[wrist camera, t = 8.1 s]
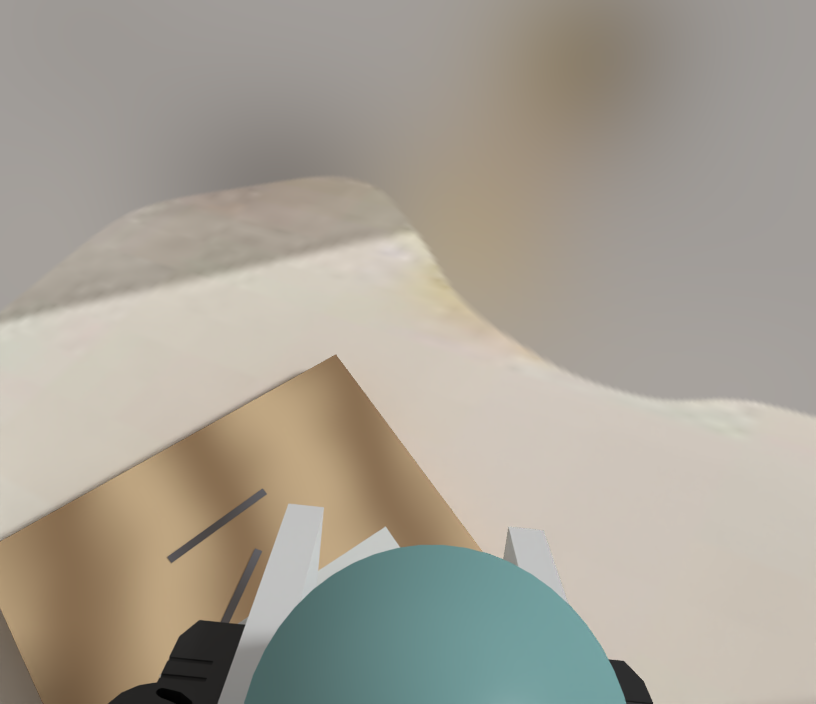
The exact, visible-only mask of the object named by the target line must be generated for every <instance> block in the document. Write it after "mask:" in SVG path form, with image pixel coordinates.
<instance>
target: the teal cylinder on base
mask: <svg viewBox="0 0 816 704" xmlns="http://www.w3.org/2000/svg"><path fill="white" fill-rule="evenodd" d="M247 619H248V617H247V618H246V619H244V620H243V621H241V622H240V623H238V624H244V625H246V622H247ZM159 676H160V677H161V674H160V675H159ZM244 704H626V701H625V697H624V694H623V692H622V689H621V687H620V684H619V682H618V679H617V677H616V674H615V671H614V669H613V667H612V666H611V664H610V662H609V660H608V658H607V656H606V654H605V652H604V650H603V648H602V647H601V645H600V644H599V642H598V641H597V639H596V638H595V636H594V635H593V633H592V632H591V630H590V629H589V628H588V626H587V625H586V623H585V622H584V621H583V620H582V619H581V618H580V617H579V615H578V614H577V613H576V612H575V611H574V610H573V608H572V607H571V606H570V605H569V604H568V603H567V602H566V601H565V600H563V599H562V598H561V597H560V596H559V595H558V594H557V593H556V592H555V591H554V590H553V589H552V588H550V587H549V586H547V585H546V584H545V583H543V582H542V581H540V580H539V579H538V578H536V577H535V576H534V575H532V574H531V573H529V572H527V571H525V570H523V569H521V568H520V567H518V566H516V565H514V564H512V563H511V562H508V561H506V560H503V559H501V558H498V557H496V556H493V555H491V554H488V553H484V552H480V551H476V550H473V549H469V548H464V547H456V546H448V545H415V546H408V547H399V545H398V544H397V542H396V541H395V539H394V538H393V536H392V535H391V534H390V532H389V531H388V529H387V528H386V527H384V528H383V529H381V530H380V531H378V532H377V533H375V534H373V535H372V536H370V537H369V538H367V539H366V540H364V541H363V542H361V543H360V544H358V545H357V546H355V547H354V548H352V549H351V550H349V551H348V552H346V553H345V554H343V555H342V556H340V557H338V558H337V559H335V560H334V561H332V562H331V563H329V564H328V565H326V566H325V567H323V568H322V569H320V570H319V571H318V578H317V587H316V588H314V589H313V590H312V591H311V592H310V593H309V594H308V595H307V596H306V597H305V598H304V599H303V600H302V601H301V602H300V603H299V604H298V605H297V606H296V607H295V608H294V609H293V610H292V611H291V613H290V614H289V615H288V616H287V618H286V619H285V620H284V621H283V623H282V624H281V625H280V626H279V628H278V629H277V631H276V632H275V634H274V636H273V637H272V639H271V641H270V642H269V644H268V645H267V647H266V649H265V650H264V652H263V655H262V657H261V659H260V661H259V663H258V665H257V668H256V670H255V672H254V674H253V677H252V680H251V683H250V686H249V689H248V692H247V695H246V698H245V701H244Z"/></svg>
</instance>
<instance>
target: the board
mask: <svg viewBox="0 0 816 704" xmlns="http://www.w3.org/2000/svg"><path fill="white" fill-rule="evenodd" d="M288 504H298V505H307V506H317V507H324V512H323V523H322V534H321V545H320V556H319V567H318V571H319V570H320V569H322V568H323V567H325V566H326V565H328V564H329V563H331V562H332V561H334V560H335V559H337V558H338V557H340V556H342V555H343V554H345V553H346V552H348V551H349V550H351V549H352V548H354V547H355V546H357V545H358V544H360V543H361V542H363V541H364V540H366V539H367V538H369V537H370V536H372V535H373V534H375V533H377V532H378V531H380V530H381V529H383V528H384V527H386V528H387V529H388V531H389V532H390V534H391V535H392V536H393V538H394V539H395V541H396V542H397V544H398V545H399V547H408V546H415V545H448V546H456V547H464V548H469V549H473V550H476V551H480V552H482V550H481V549H480V547H479V546H478V545H477V543H476V542H475V541H474V539H473V538H472V537H471V535H470V534H469V533H468V531H467V530H466V529H465V527H464V526H463V525H462V523H461V522H460V521H459V519H458V518H457V517H456V515H455V514H454V513H453V511H452V510H451V508H450V507H449V506H448V504H447V503H446V502H445V500H444V499H443V498H442V496H441V495H440V494H439V492H438V491H437V490H436V488H435V487H434V486H433V484H432V483H431V482H430V480H429V479H428V478H427V476H426V475H425V474H424V472H423V471H422V470H421V468H420V467H419V465H418V464H417V463H416V461H415V460H414V459H413V457H412V456H411V455H410V453H409V452H408V451H407V449H406V448H405V447H404V445H403V444H402V443H401V441H400V440H399V439H398V437H397V436H396V435H395V433H394V432H393V431H392V429H391V428H390V427H389V425H388V424H387V422H386V421H385V420H384V418H383V417H382V416H381V414H380V413H379V412H378V410H377V409H376V408H375V406H374V405H373V404H372V402H371V401H370V400H369V398H368V397H367V396H366V394H365V393H364V392H363V390H362V389H361V388H360V386H359V385H358V384H357V382H356V381H355V379H354V378H353V377H352V375H351V374H350V373H349V371H348V370H347V369H346V367H345V366H344V365H343V363H342V362H341V361H340V359H339V358H338V357H337V355H334V356H332V357H330V358H329V359H327V360H325V361H323V362H321V363H320V364H318V365H316V366H314V367H312V368H311V369H309V370H307V371H305V372H303V373H302V374H300V375H298V376H296V377H294V378H293V379H291V380H289V381H287V382H286V383H284V384H282V385H280V386H278V387H277V388H275V389H273V390H271V391H269V392H268V393H266V394H264V395H262V396H260V397H259V398H257V399H255V400H253V401H251V402H250V403H248V404H246V405H244V406H242V407H241V408H239V409H237V410H235V411H233V412H232V413H230V414H228V415H226V416H225V417H223V418H221V419H219V420H217V421H216V422H214V423H212V424H210V425H208V426H207V427H205V428H203V429H201V430H199V431H198V432H196V433H194V434H192V435H190V436H189V437H187V438H185V439H183V440H181V441H180V442H178V443H176V444H174V445H172V446H171V447H169V448H167V449H165V450H163V451H162V452H160V453H158V454H156V455H155V456H153V457H151V458H149V459H147V460H146V461H144V462H142V463H140V464H138V465H137V466H135V467H133V468H131V469H129V470H128V471H126V472H124V473H122V474H120V475H119V476H117V477H115V478H113V479H111V480H110V481H108V482H106V483H104V484H102V485H101V486H99V487H97V488H95V489H94V490H92V491H90V492H88V493H86V494H85V495H83V496H81V497H79V498H77V499H76V500H74V501H72V502H70V503H68V504H67V505H65V506H63V507H61V508H59V509H58V510H56V511H54V512H52V513H50V514H49V515H47V516H45V517H43V518H41V519H40V520H38V521H36V522H34V523H32V524H31V525H29V526H27V527H25V528H24V529H22V530H20V531H18V532H16V533H15V534H13V535H11V536H9V537H7V538H6V539H4V540H2V541H0V609H1V611H2V613H3V616H4V618H5V620H6V622H7V624H8V627H9V629H10V631H11V633H12V636H13V638H14V640H15V642H16V645H17V647H18V649H19V651H20V654H21V656H22V658H23V660H24V663H25V665H26V667H27V669H28V671H29V674H30V676H31V678H32V680H33V683H34V685H35V687H36V689H37V692H38V694H39V696H40V698H41V701H42V703H43V704H108V703H109V702H110V701H112V700H113V699H114V698H115V697H116V696H118V695H119V694H120V693H121V692H124V691H126V690H129V689H131V688H133V687H136V686H138V685H142V684H149V683H155V682H157V681H158V679H159V678H160V676H159V675H160V674H161V673H162V671H163V669H164V667H165V665H166V662H167V661H169V656H170V654H171V652H172V650H173V648H174V646H175V644H176V642H177V640H178V638H179V636H180V635H181V634H183V633H184V632H185V631H186V630H188V629H189V628H190V627H191V626H192V625H194V624H195V623H196V622H197V621H199V620H205V621H215V622H225V623H235V624H238V623H240V622H241V621H243V620H244V619H246V618H247V617H249V614H250V611H251V608H252V605H253V602H254V600H255V597H256V594H257V591H258V588H259V585H260V583H261V580H262V577H263V574H264V571H265V569H266V566H267V563H268V560H269V557H270V554H271V552H272V549H273V546H274V543H275V540H276V538H277V535H278V532H279V529H280V526H281V523H282V521H283V518H284V515H285V512H286V509H287V506H288Z"/></svg>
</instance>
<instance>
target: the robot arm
mask: <svg viewBox="0 0 816 704" xmlns="http://www.w3.org/2000/svg"><path fill="white" fill-rule="evenodd" d="M323 512H324V507H317V506H307V505H298V504H288V506H287V509H286V512H285V515H284V518H283V521H282V523H281V526H280V529H279V532H278V535H277V538H276V540H275V543H274V546H273V549H272V552H271V554H270V557H269V560H268V563H267V566H266V569H265V571H264V574H263V577H262V580H261V583H260V585H259V588H258V591H257V594H256V597H255V600H254V602H253V605H252V608H251V611H250V614H249V617H248V619H247V622H246V625H244V624H235V623H225V622H215V621H205V620H199V621H197V622H196V623H195V624H194V625H192V626H191V627H190V628H189V629H188V630H186V631H185V632H184V633H183V634H181V635H180V636H179V638H178V640H177V642H176V644H175V646H174V648H173V650H172V652H171V654H170V656H169V661H167V662H166V665H165V667H164V669H163V671H162V673H161V677H160V678H159V679H158V681H157V682H155V683H149V684H142V685H138V686H136V687H133V688H131V689H129V690H126V691H124V692H121V693H120V694H119V695H118V696H116V697H115V698H114V699H113V700H112V701H110V702H109V703H108V704H244V701H245V698H246V695H247V692H248V689H249V686H250V683H251V680H252V677H253V674H254V672H255V670H256V668H257V665H258V663H259V661H260V659H261V657H262V655H263V652H264V650H265V649H266V647H267V645H268V644H269V642H270V641H271V639H272V637H273V636H274V634H275V632H276V631H277V629H278V628H279V626H280V625H281V624H282V623H283V621H284V620H285V619H286V618H287V616H288V615H289V614H290V613H291V611H292V610H293V609H294V608H295V607H296V606H297V605H298V604H299V603H300V602H301V601H302V600H303V599H304V598H305V597H306V596H307V595H308V594H309V593H310V592H311V591H312V590H313V589H314V588H316V587H317V578H318V567H319V556H320V545H321V534H322V523H323ZM503 560H506V561H508V562H511V563H512V564H514V565H516V566H518V567H520V568H521V569H523V570H525V571H527V572H529V573H531V574H532V575H534V576H535V577H536V578H538V579H539V580H540V581H542V582H543V583H545V584H546V585H547V586H549V587H550V588H552V589H553V590H554V591H555V592H556V593H557V594H558V595H559V596H560V597H561V598H562V599H563V600H565V601H566V602H567V603H568V601H567V598H566V595H565V592H564V589H563V586H562V583H561V580H560V577H559V574H558V571H557V569H556V566H555V563H554V560H553V557H552V554H551V551H550V548H549V545H548V542H547V539H546V536H545V533H544V530H536V529H527V528H517V527H508V533H507V539H506V546H505V552H504V559H503ZM608 660H609V659H608ZM609 662H610V664H611V666H612V667H613V669H614V671H615V674H616V677H617V679H618V682H619V684H620V687H621V689H622V692H623V694H624V697H625V701H626V704H653V702H652V700H651V697H650V695H649V693H648V690H647V688H646V686H645V683H644V681H643V680H642V679H641V678H640V677H639V676H638V675H637V674H636V673H635V672H634V671H633V670H632V669H631V668H630V667H629V666H628V665H627V664H626V663H625V662H624V661H619V660H609Z"/></svg>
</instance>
